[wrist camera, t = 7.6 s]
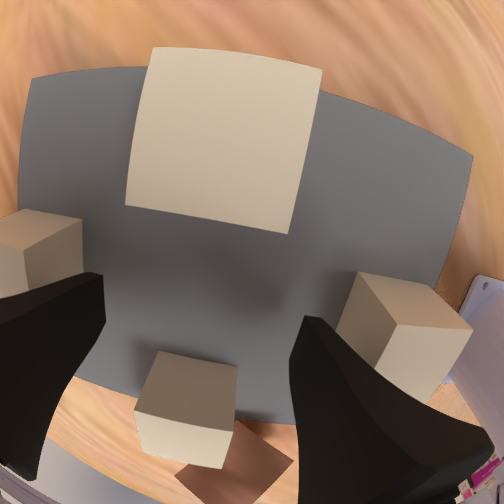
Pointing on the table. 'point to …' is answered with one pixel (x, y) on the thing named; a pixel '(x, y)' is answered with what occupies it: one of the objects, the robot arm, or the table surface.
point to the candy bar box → (480, 478)
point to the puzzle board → (234, 234)
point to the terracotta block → (237, 471)
